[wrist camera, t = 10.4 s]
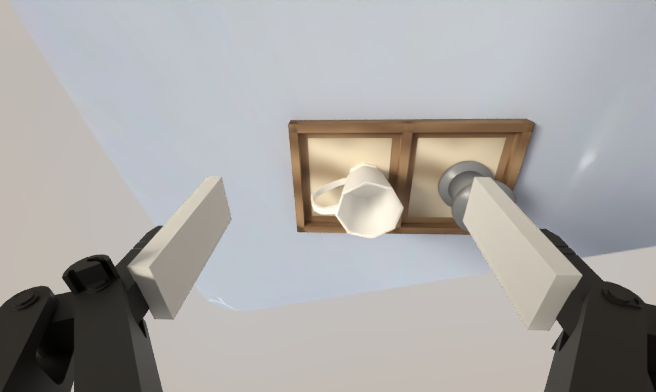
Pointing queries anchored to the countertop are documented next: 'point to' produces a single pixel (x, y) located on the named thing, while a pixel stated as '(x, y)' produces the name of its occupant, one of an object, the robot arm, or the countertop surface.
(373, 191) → the cup
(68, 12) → the countertop surface
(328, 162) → the slot tray
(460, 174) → the doorknob
